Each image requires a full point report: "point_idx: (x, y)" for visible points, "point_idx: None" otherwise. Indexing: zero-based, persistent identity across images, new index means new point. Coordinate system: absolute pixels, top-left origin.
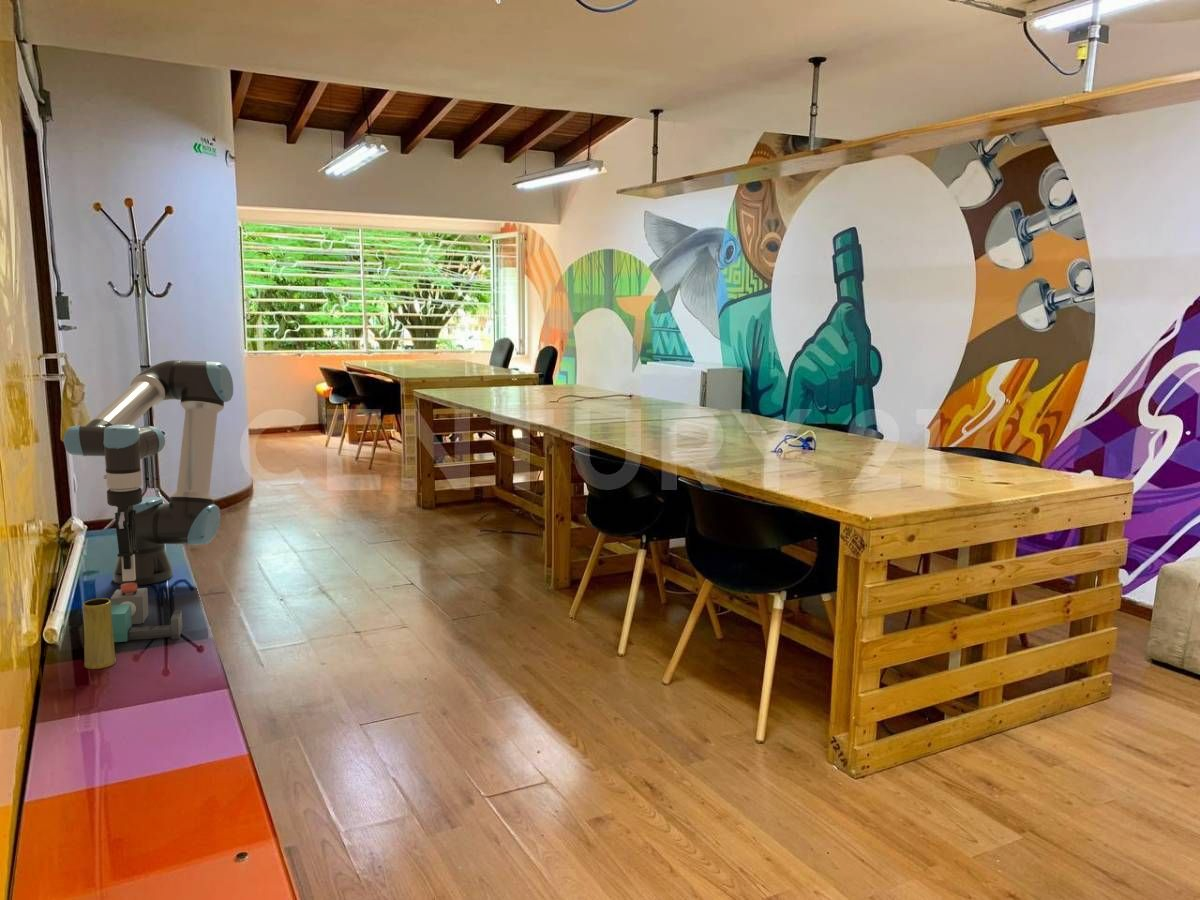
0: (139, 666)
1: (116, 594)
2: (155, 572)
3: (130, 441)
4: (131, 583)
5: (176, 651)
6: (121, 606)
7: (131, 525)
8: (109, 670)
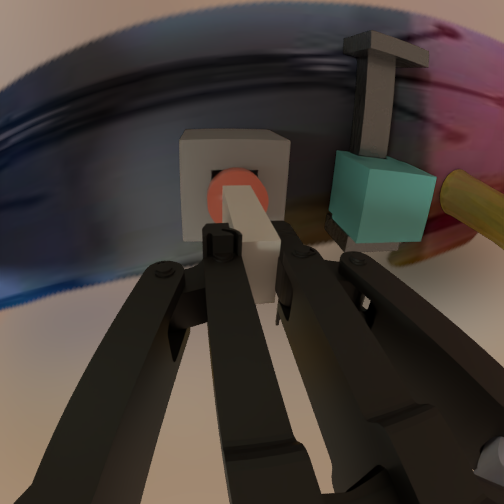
0: (480, 134)
1: None
2: None
3: None
4: (221, 196)
5: (451, 70)
6: (383, 192)
7: (450, 442)
8: (477, 176)
